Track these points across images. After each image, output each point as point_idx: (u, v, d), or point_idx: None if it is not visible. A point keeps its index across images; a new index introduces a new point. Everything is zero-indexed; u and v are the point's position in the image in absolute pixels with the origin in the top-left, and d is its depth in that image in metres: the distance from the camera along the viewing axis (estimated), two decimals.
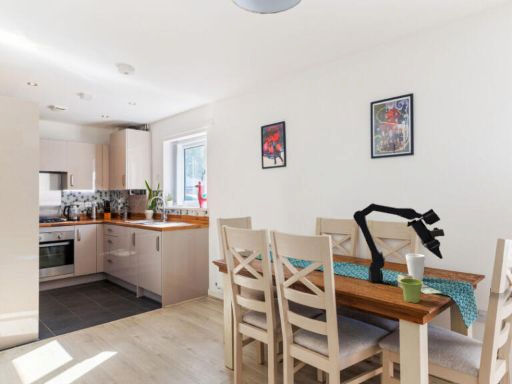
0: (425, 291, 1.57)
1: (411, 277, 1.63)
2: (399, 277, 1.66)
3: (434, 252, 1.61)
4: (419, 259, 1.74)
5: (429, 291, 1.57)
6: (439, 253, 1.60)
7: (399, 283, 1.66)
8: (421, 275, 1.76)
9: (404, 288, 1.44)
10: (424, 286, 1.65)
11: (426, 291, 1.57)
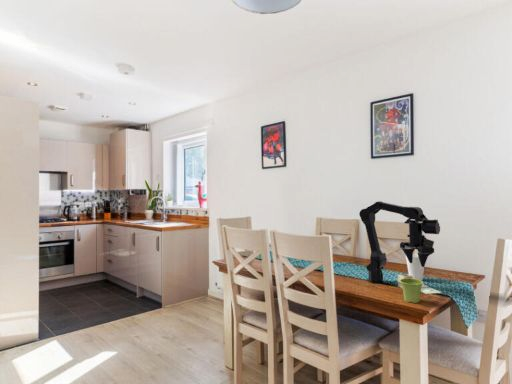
0: (425, 291, 1.57)
1: (411, 277, 1.63)
2: (399, 277, 1.66)
3: (422, 258, 1.55)
4: None
5: (429, 291, 1.57)
6: (424, 261, 1.55)
7: (399, 283, 1.66)
8: (421, 275, 1.76)
9: (404, 288, 1.44)
10: (424, 286, 1.65)
11: (426, 291, 1.57)
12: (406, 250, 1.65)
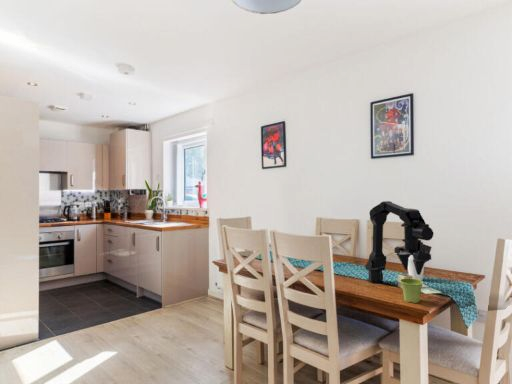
0: (425, 291, 1.57)
1: (411, 277, 1.63)
2: (399, 277, 1.66)
3: (417, 265, 1.42)
4: None
5: (429, 291, 1.57)
6: (420, 268, 1.42)
7: (399, 283, 1.66)
8: (421, 275, 1.76)
9: (404, 288, 1.44)
10: (424, 286, 1.65)
11: (426, 291, 1.57)
12: (401, 256, 1.52)
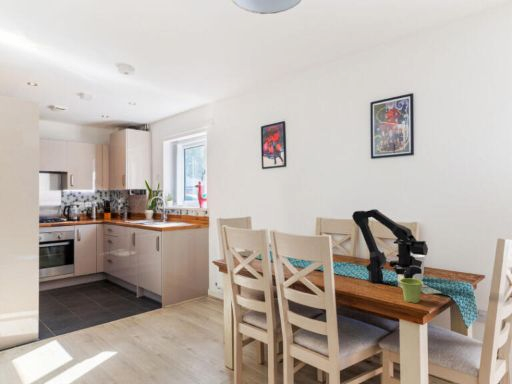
0: (425, 291, 1.57)
1: None
2: (399, 277, 1.66)
3: (407, 277, 1.61)
4: (419, 259, 1.74)
5: (429, 291, 1.57)
6: None
7: (399, 283, 1.66)
8: (421, 275, 1.76)
9: (404, 288, 1.44)
10: (424, 286, 1.65)
11: (426, 291, 1.57)
12: (397, 270, 1.68)
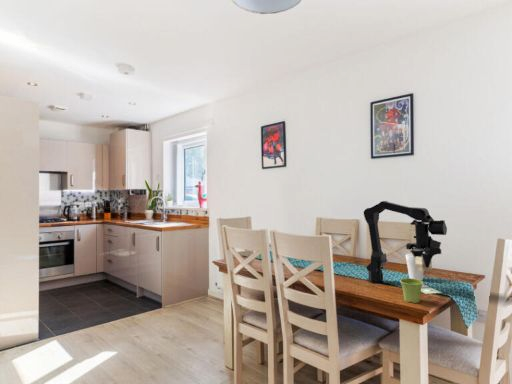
0: (425, 291, 1.57)
1: None
2: (417, 259, 1.60)
3: (426, 259, 1.55)
4: None
5: (429, 291, 1.57)
6: (429, 261, 1.56)
7: (417, 265, 1.60)
8: (421, 275, 1.76)
9: (404, 288, 1.44)
10: (424, 286, 1.65)
11: (426, 291, 1.57)
12: (415, 252, 1.62)
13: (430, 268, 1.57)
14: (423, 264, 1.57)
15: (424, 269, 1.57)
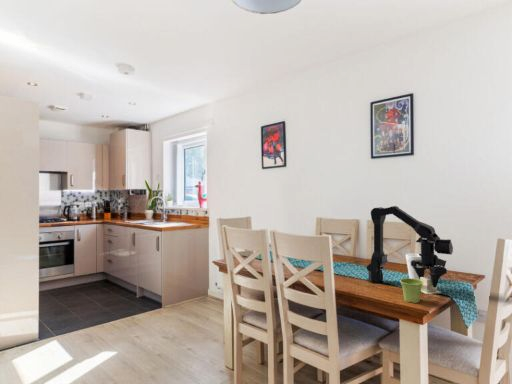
0: None
1: None
2: (422, 280, 1.59)
3: (433, 278, 1.52)
4: (419, 259, 1.74)
5: None
6: (436, 281, 1.53)
7: (422, 286, 1.59)
8: None
9: (404, 288, 1.44)
10: None
11: None
12: (417, 269, 1.63)
13: (435, 290, 1.56)
14: (428, 285, 1.55)
15: (429, 290, 1.55)
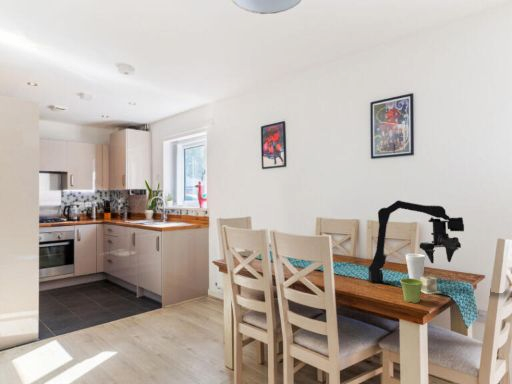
0: None
1: (435, 280, 1.56)
2: (422, 280, 1.59)
3: (427, 254, 1.63)
4: (419, 259, 1.74)
5: None
6: (430, 257, 1.62)
7: (422, 286, 1.59)
8: (421, 275, 1.76)
9: (404, 288, 1.44)
10: None
11: None
12: (446, 248, 1.66)
13: (435, 290, 1.56)
14: (428, 285, 1.55)
15: (429, 290, 1.55)
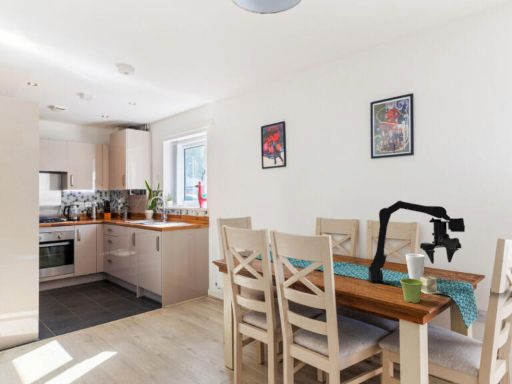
0: None
1: (435, 280, 1.56)
2: (422, 280, 1.59)
3: (428, 254, 1.64)
4: (419, 259, 1.74)
5: None
6: (431, 258, 1.62)
7: (422, 286, 1.59)
8: (421, 275, 1.76)
9: (404, 288, 1.44)
10: None
11: None
12: (447, 249, 1.66)
13: (435, 290, 1.56)
14: (428, 285, 1.55)
15: (429, 290, 1.55)
